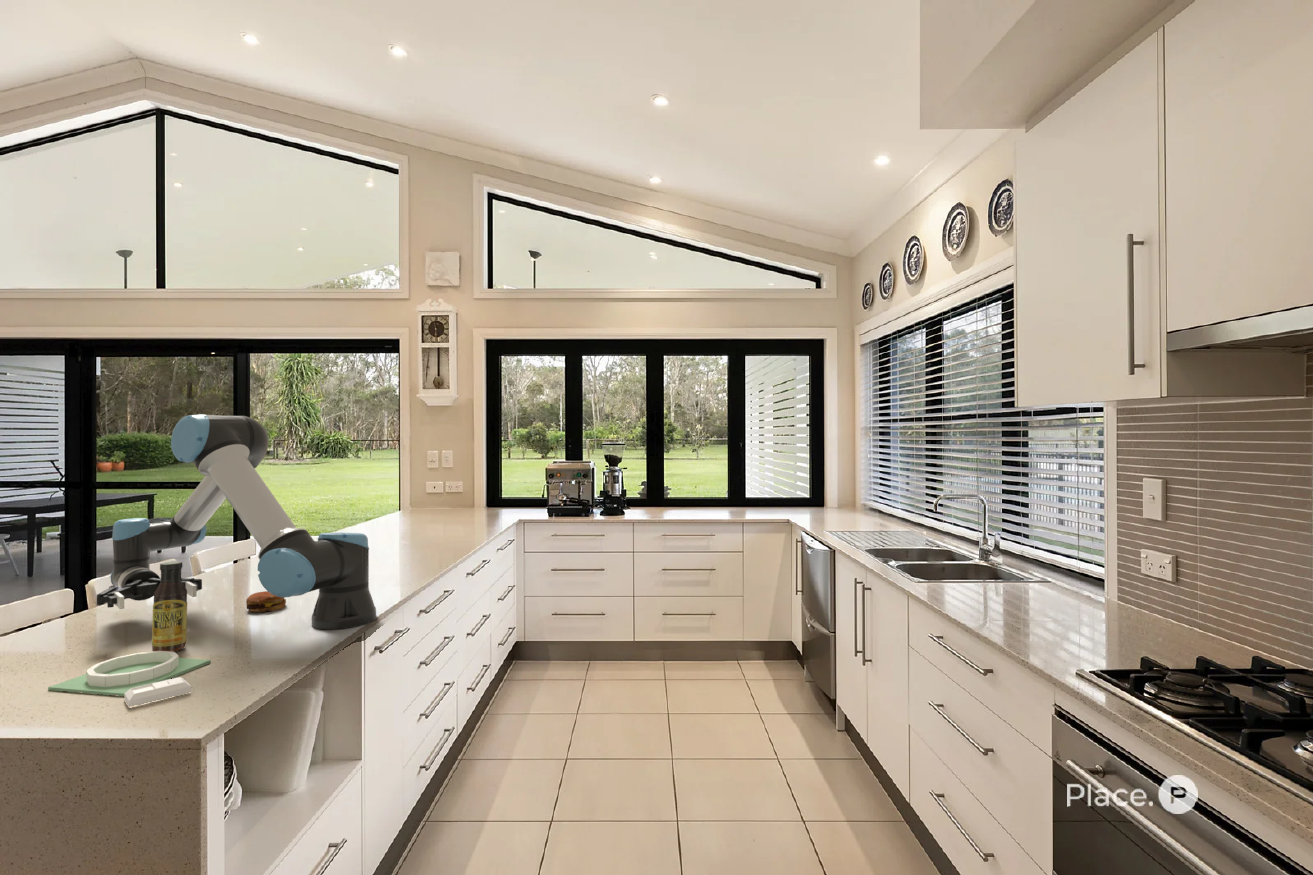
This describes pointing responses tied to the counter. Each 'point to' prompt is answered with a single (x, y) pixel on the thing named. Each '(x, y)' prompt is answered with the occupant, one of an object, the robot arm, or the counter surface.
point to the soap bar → (156, 691)
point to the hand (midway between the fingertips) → (159, 596)
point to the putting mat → (124, 688)
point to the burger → (265, 602)
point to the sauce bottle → (169, 610)
